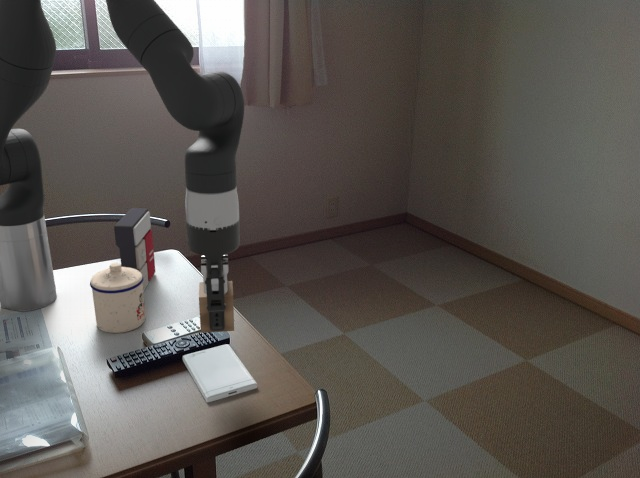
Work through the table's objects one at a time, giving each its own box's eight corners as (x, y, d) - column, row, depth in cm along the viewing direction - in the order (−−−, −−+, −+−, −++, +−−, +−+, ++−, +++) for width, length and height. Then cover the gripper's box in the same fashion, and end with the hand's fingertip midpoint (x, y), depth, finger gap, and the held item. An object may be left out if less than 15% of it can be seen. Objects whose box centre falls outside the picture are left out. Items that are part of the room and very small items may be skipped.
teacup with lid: (150, 329, 106) (145, 271, 102) (97, 338, 103) (89, 279, 99) (141, 299, 117) (135, 245, 112) (92, 307, 113) (85, 252, 109)
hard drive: (182, 355, 97) (206, 396, 87) (228, 343, 101) (257, 381, 91) (182, 363, 98) (207, 405, 88) (229, 351, 102) (257, 390, 92)
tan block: (200, 332, 88) (198, 297, 86) (201, 316, 93) (199, 282, 91) (234, 330, 89) (233, 295, 87) (233, 314, 94) (232, 280, 92)
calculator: (142, 296, 118) (136, 227, 112) (121, 296, 118) (113, 226, 112) (157, 273, 128) (152, 208, 122) (137, 272, 128) (131, 207, 122)
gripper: (187, 201, 90) (193, 299, 97) (183, 236, 77) (190, 347, 84) (237, 200, 92) (239, 297, 98) (241, 234, 79) (243, 343, 85)
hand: (217, 319), depth 91 cm, fingers closed on tan block, 5 cm apart
